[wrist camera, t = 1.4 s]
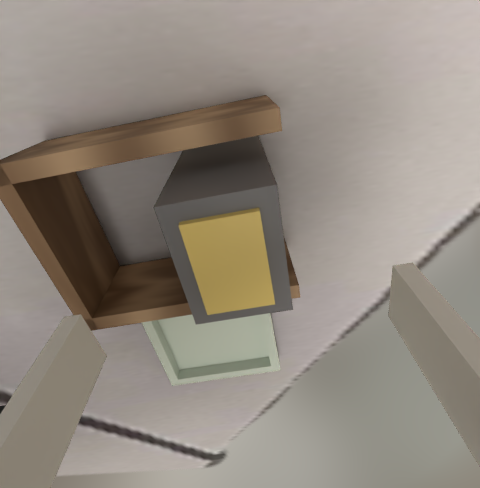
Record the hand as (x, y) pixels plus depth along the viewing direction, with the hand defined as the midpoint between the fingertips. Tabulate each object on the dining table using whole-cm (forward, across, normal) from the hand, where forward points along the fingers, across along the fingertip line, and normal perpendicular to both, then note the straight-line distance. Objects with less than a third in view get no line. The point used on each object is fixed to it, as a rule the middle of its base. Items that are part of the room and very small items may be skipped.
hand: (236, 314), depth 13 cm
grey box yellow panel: (+15, 0, 0) cm, 15 cm away
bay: (+15, -5, 0) cm, 16 cm away
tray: (+15, -5, -15) cm, 22 cm away
